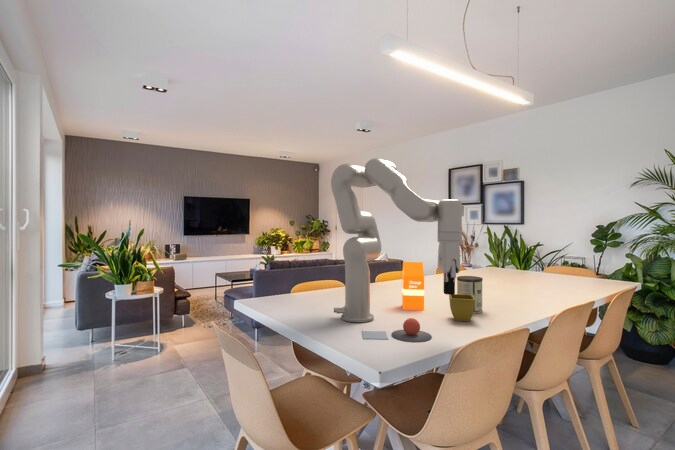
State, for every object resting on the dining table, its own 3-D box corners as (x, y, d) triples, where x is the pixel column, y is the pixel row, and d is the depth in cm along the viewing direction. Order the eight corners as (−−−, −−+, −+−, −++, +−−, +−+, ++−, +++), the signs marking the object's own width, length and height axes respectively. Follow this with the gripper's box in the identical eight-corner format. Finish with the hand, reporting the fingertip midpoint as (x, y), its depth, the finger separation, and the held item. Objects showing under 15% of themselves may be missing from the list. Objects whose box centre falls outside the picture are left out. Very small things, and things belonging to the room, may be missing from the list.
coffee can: (460, 306, 163) (460, 275, 163) (484, 309, 158) (484, 277, 158) (453, 311, 154) (454, 278, 154) (479, 314, 149) (479, 280, 149)
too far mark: (363, 339, 117) (363, 338, 117) (362, 331, 125) (362, 331, 125) (388, 339, 117) (388, 338, 117) (385, 331, 125) (385, 331, 125)
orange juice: (402, 305, 166) (402, 261, 166) (421, 305, 165) (422, 261, 165) (403, 309, 158) (403, 262, 158) (424, 309, 157) (424, 263, 157)
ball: (402, 316, 121) (418, 323, 118) (409, 314, 125) (424, 321, 122) (398, 332, 121) (413, 339, 118) (405, 330, 125) (420, 336, 122)
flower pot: (475, 323, 136) (475, 299, 136) (450, 322, 138) (451, 298, 138) (471, 317, 145) (471, 294, 145) (448, 316, 146) (448, 293, 146)
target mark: (394, 341, 114) (394, 341, 114) (389, 329, 127) (389, 329, 127) (436, 342, 114) (436, 341, 114) (426, 330, 127) (426, 329, 127)
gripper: (432, 236, 127) (432, 289, 127) (444, 238, 112) (443, 298, 112) (454, 236, 127) (454, 289, 127) (468, 238, 112) (468, 298, 112)
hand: (449, 293), depth 119 cm, fingers closed
